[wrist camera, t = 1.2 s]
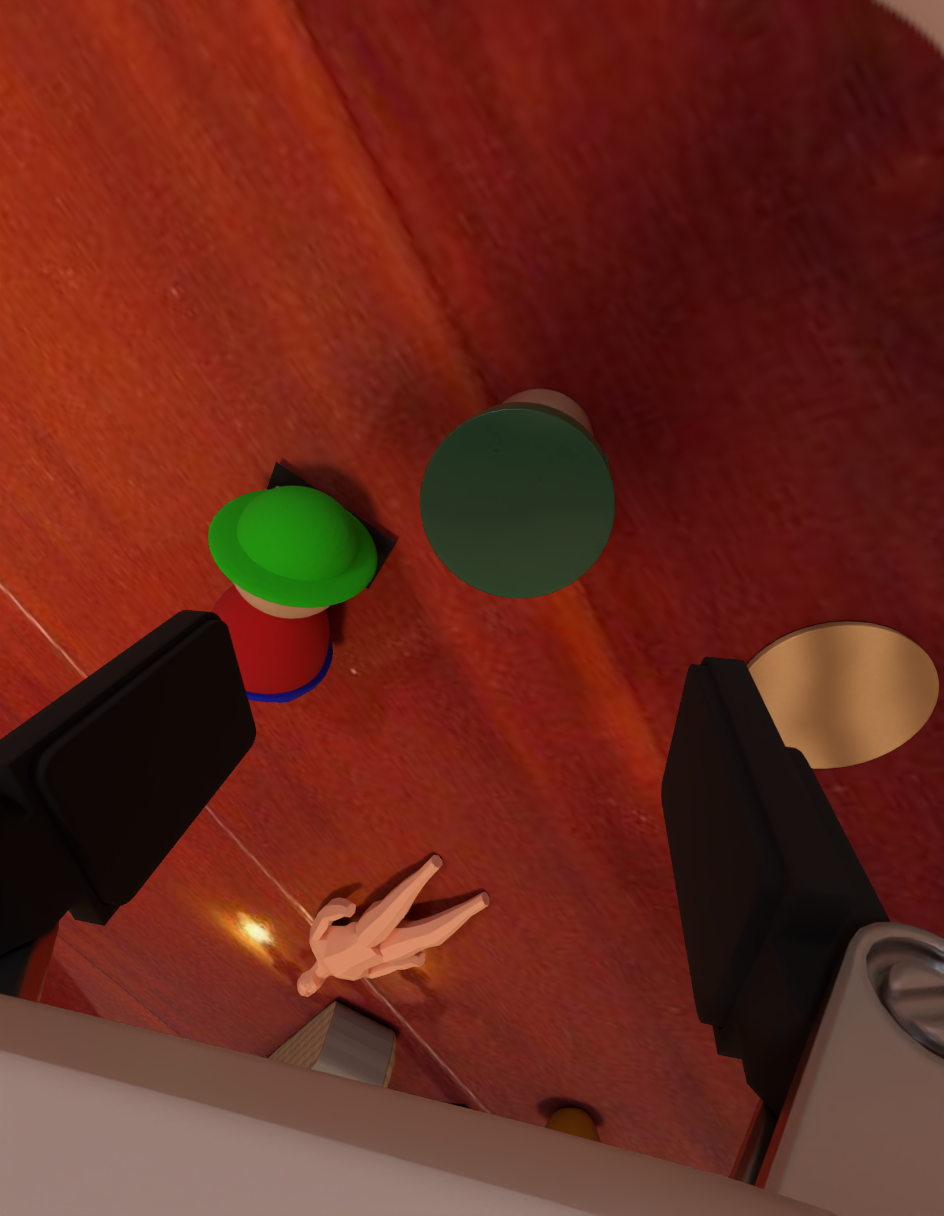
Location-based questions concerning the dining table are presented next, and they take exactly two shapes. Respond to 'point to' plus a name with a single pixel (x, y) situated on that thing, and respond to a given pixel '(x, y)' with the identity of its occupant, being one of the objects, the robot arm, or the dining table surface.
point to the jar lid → (518, 500)
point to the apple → (573, 1123)
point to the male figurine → (381, 933)
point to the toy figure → (289, 580)
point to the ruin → (342, 1046)
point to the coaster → (845, 690)
